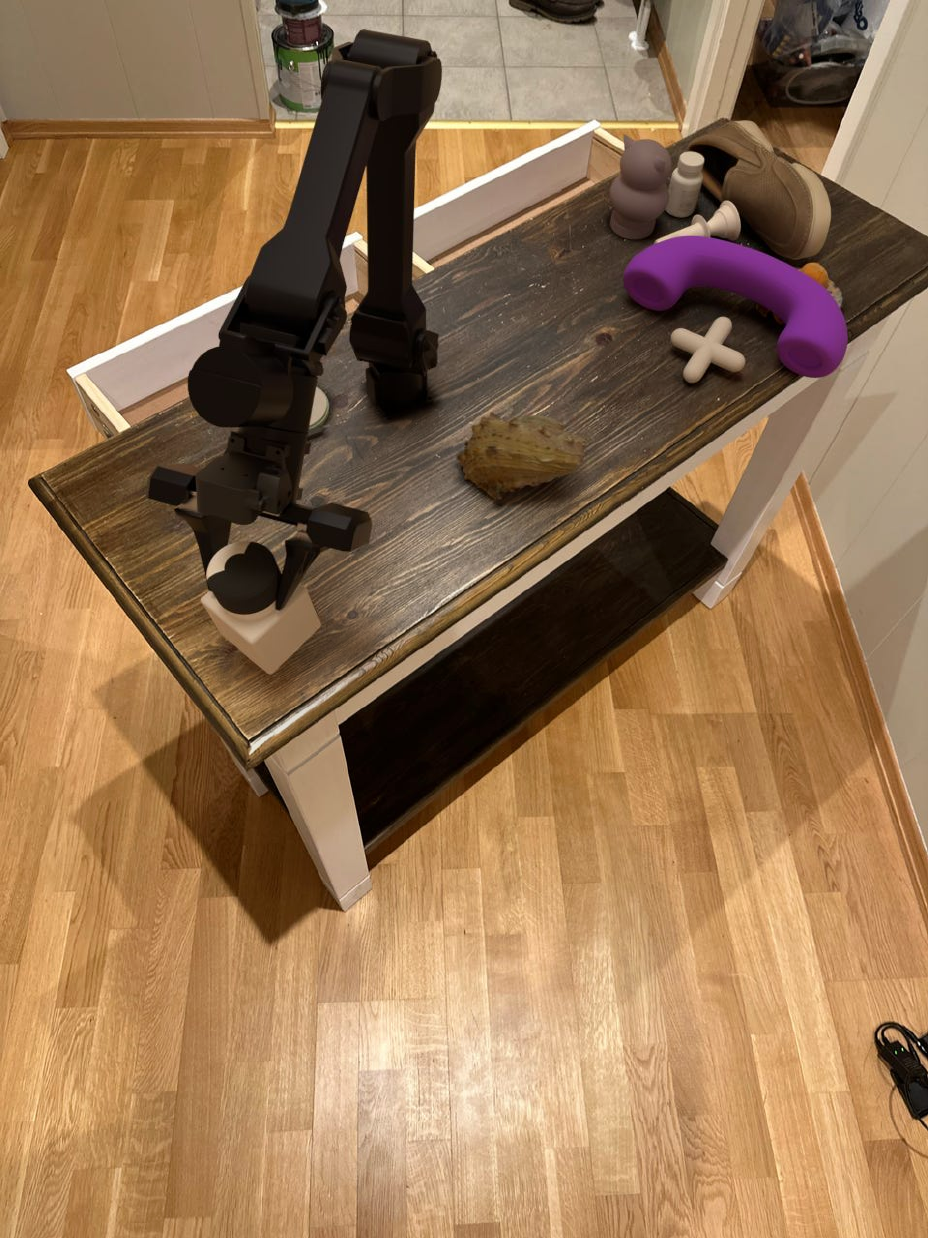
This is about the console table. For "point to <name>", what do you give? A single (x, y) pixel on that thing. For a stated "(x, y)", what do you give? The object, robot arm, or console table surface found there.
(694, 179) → the pill bottle
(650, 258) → the purple telephone handset
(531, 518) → the console table surface
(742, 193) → the slip on shoe
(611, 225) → the cat figurine
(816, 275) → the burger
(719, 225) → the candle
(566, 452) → the seashell
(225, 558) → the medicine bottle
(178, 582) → the console table surface
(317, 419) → the scale
